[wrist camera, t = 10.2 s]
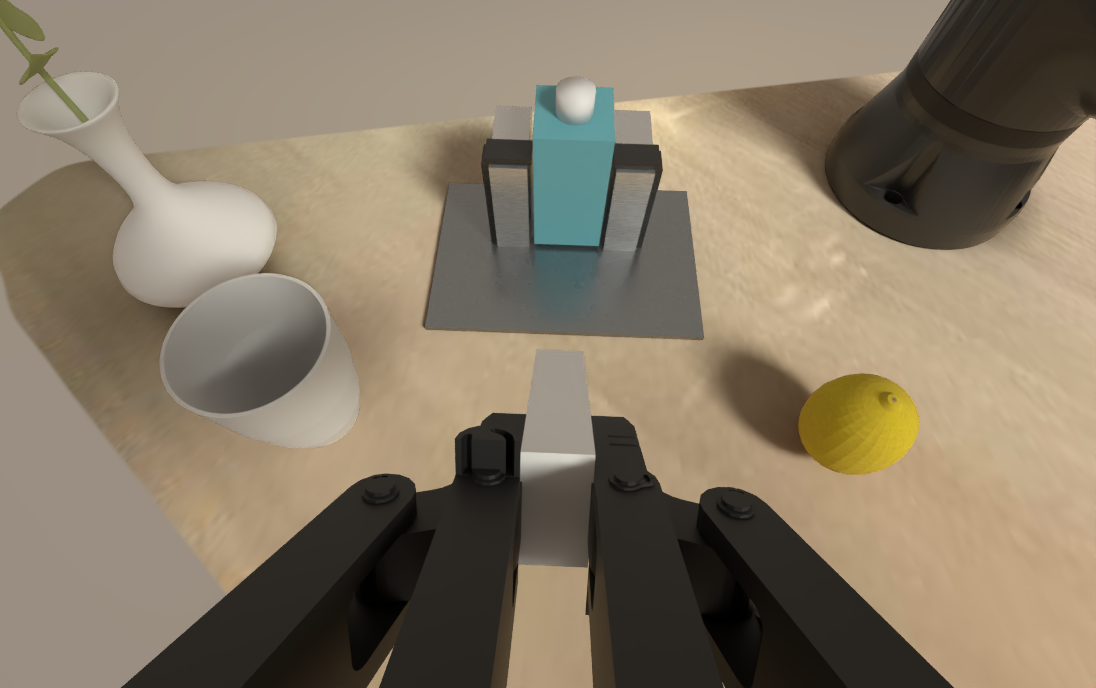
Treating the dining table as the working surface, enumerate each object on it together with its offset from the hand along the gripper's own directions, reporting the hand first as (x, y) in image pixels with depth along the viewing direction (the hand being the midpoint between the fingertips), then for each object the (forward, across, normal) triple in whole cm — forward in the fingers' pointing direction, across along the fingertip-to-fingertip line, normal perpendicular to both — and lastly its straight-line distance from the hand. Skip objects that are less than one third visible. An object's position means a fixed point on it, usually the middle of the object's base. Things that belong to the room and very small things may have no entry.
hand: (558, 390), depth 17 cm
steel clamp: (+25, 0, +1) cm, 25 cm away
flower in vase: (+25, -28, 0) cm, 37 cm away
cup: (+16, -16, -9) cm, 24 cm away
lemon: (+15, +18, -10) cm, 25 cm away
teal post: (+28, 0, +3) cm, 28 cm away
